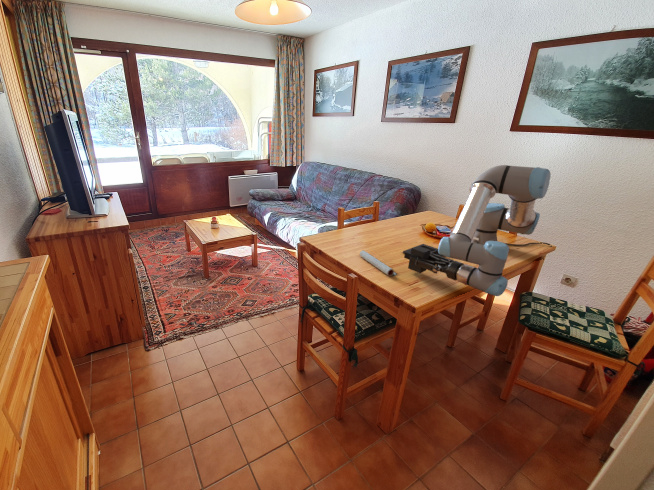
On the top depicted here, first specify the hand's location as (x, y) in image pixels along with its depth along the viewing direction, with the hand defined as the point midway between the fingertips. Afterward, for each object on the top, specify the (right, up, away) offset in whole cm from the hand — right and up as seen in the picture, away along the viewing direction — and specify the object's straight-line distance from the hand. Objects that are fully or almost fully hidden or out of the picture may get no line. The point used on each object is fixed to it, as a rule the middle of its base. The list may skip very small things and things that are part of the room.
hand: (408, 253), depth 141 cm
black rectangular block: (+3, -7, -2) cm, 8 cm away
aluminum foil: (-12, -6, +7) cm, 15 cm away
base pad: (+17, 0, +20) cm, 26 cm away
